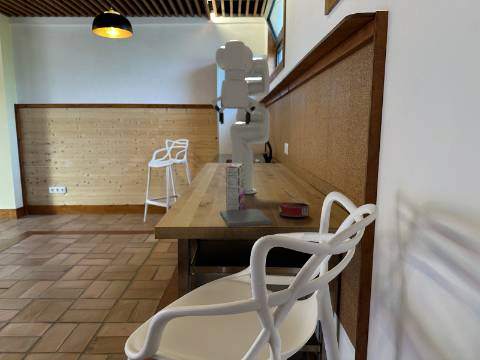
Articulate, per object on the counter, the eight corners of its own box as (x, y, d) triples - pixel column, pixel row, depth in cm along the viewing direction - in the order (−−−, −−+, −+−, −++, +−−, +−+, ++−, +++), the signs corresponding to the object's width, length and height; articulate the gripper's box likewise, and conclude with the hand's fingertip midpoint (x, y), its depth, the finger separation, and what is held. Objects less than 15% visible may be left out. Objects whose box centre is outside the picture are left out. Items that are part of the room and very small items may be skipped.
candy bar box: (231, 206, 124) (231, 163, 122) (244, 207, 123) (245, 163, 121) (225, 213, 113) (225, 166, 111) (239, 214, 113) (239, 166, 110)
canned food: (286, 224, 114) (290, 197, 117) (313, 225, 108) (317, 196, 111) (269, 213, 106) (274, 184, 109) (297, 213, 100) (302, 182, 103)
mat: (220, 213, 112) (220, 210, 112) (257, 211, 114) (257, 208, 114) (228, 226, 96) (228, 222, 96) (271, 223, 99) (271, 220, 99)
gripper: (255, 79, 127) (254, 124, 129) (210, 77, 123) (210, 124, 126) (260, 76, 120) (259, 124, 122) (212, 74, 116) (213, 123, 118)
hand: (234, 124), depth 124 cm, fingers open, 9 cm apart
